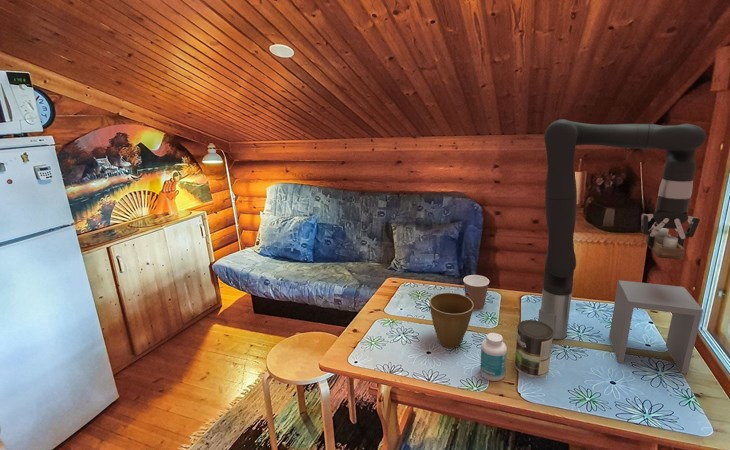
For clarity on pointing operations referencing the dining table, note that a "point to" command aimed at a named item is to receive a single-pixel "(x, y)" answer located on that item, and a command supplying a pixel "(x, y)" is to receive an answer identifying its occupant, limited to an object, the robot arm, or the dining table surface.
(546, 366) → the coffee can
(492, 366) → the pill bottle
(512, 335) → the dining table surface
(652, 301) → the grey hollow frame
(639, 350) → the dining table surface
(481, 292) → the coffee cup
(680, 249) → the tray
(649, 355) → the dining table surface
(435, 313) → the plant pot
